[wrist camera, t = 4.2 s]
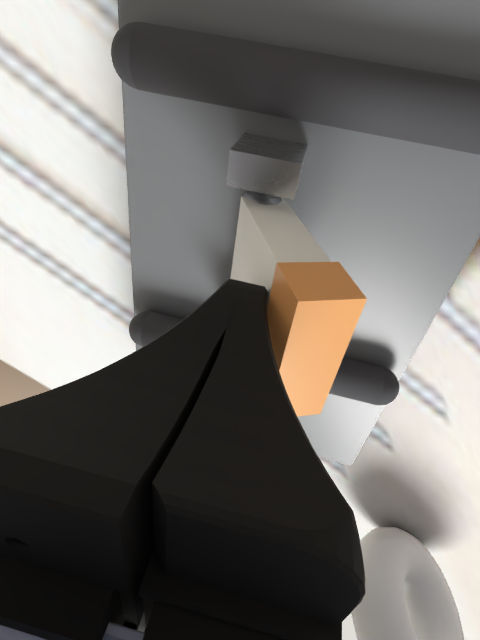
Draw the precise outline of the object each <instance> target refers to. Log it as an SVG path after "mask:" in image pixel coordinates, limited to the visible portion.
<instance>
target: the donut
mask: <svg viewBox="0 0 480 640" xmlns="http://www.w3.org/2000/svg"><path fill="white" fill-rule="evenodd" d="M360 544H361V549H362V555H363V562H364V569H365V591H366V593H365V595H364V597H363V599H362V601H361V603H360V604H359V605H358V606H357V607H356V608H355V609H354V610H353V611H352V612H351V614H352V618H353V623H354V627H355V632H356V636H357V639H358V640H464V636H463V631H462V626H461V622H460V618H459V613H458V610H457V607H456V604H455V601H454V598H453V595H452V592H451V590H450V588H449V586H448V584H447V581H446V579H445V577H444V575H443V573H442V571H441V569H440V567H439V566H438V564H437V563H436V561H435V560H434V558H433V557H432V555H431V553H430V552H429V551H428V550H427V549H426V548H425V547H424V546H423V544H422V543H421V542H420V541H419V540H418V539H416V538H415V537H414V536H413V535H411V534H409V533H407V532H405V531H404V530H402V529H399V528H396V527H380V528H375V529H373V530H371V531H370V532H369V533H368V534H367V535H366V536H365V537H364V538H362V540H361V541H360Z"/></svg>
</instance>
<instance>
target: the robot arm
mask: <svg viewBox="0 0 480 640" xmlns="http://www.w3.org/2000/svg"><path fill="white" fill-rule="evenodd" d="M267 292H268V291H267V289H266V288H265V286H260V285H256V284H251V283H247V282H243V281H238V280H234V279H229V280H227V281H225V282H224V284H223V285H222V286H221V287H220V288H219V289H218V290H217V291H216V292H214V293H213V294H212V295H211V296H210V297H209V298H208V299H207V300H206V301H205V302H204V303H202V304H201V305H200V306H199V307H198V308H196V309H195V310H194V311H193V312H192V313H190V314H189V315H188V316H187V317H186V318H184V319H183V320H182V321H180V322H179V323H178V324H176V325H175V326H173V327H172V328H171V329H169V330H168V331H167V332H165V333H164V334H162V335H161V336H159V337H158V338H156V339H155V340H153V341H152V342H150V343H149V344H147V345H145V346H144V347H142V348H140V349H139V350H137V351H135V352H134V353H132V354H130V355H128V356H126V357H124V358H123V359H121V360H119V361H117V362H115V363H113V364H111V365H109V366H107V367H105V368H103V369H101V370H99V371H97V372H95V373H92V374H90V375H88V376H85V377H83V378H81V379H78V380H76V381H73V382H71V383H68V384H66V385H63V386H60V387H58V388H55V389H53V390H50V391H47V392H44V393H41V394H39V395H36V396H32V397H29V398H26V399H23V400H20V401H17V402H14V403H10V404H7V405H4V406H1V407H0V640H342V621H343V620H344V619H345V618H346V617H347V616H348V615H349V614H350V613H351V612H352V611H353V610H354V609H355V608H356V607H357V606H358V605H359V604H360V603H361V601H362V599H363V597H364V595H365V593H366V591H365V569H364V562H363V555H362V549H361V544H360V538H359V534H358V529H357V525H356V521H355V517H354V513H353V511H352V509H351V507H350V506H349V505H348V503H347V502H346V500H345V499H344V497H343V496H342V494H341V493H340V491H339V490H338V488H337V487H336V485H335V483H334V482H333V480H332V479H331V477H330V476H329V474H328V472H327V471H326V469H325V467H324V466H323V464H322V462H321V461H320V459H319V457H318V455H317V454H316V452H315V450H314V449H313V447H312V445H311V443H310V441H309V439H308V437H307V435H306V433H305V431H304V429H303V427H302V425H301V423H300V421H299V419H298V417H297V415H296V413H295V411H294V408H293V406H292V404H291V401H290V399H289V397H288V394H287V392H286V389H285V386H284V384H283V381H282V378H281V375H280V372H279V369H278V366H277V362H276V359H275V355H274V351H273V347H272V343H271V338H270V332H269V327H268V320H267V310H266V298H267Z"/></svg>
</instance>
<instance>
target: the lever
mask: <svg viewBox="0 0 480 640" xmlns="http://www.w3.org/2000/svg"><path fill="white" fill-rule="evenodd" d="M230 279H234V280H238V281H243V282H247V283H251V284H256V285H260V286H265V288H266V289H267V291H268V292H267V298H266V310H267V320H268V327H269V332H270V338H271V343H272V347H273V351H274V355H275V359H276V362H277V366H278V369H279V372H280V375H281V378H282V381H283V384H284V386H285V389H286V392H287V394H288V397H289V399H290V401H291V404H292V406H293V408H294V411H295V413H296V415H297V417H298V416H306V415H315V414H321V411H322V409H323V406H324V404H325V401H326V399H327V396H328V394H329V391H330V389H331V387H332V384H333V382H334V379H335V377H336V374H337V372H338V369H339V367H340V364H341V362H342V359H343V357H344V354H345V352H346V350H347V347H348V345H349V342H350V340H351V337H352V335H353V332H354V330H355V327H356V325H357V322H358V320H359V318H360V315H361V313H362V310H363V308H364V305H365V303H366V300H367V298H366V297H365V295H364V294H363V293H362V291H361V290H360V289H359V287H358V286H357V285H356V284H355V282H354V281H353V280H352V278H351V277H350V276H349V274H348V273H347V272H346V270H345V269H344V268H343V267H342V265H341V264H340V263H339V262H331V261H330V259H329V258H328V257H327V255H326V254H325V253H324V251H323V250H322V249H321V247H320V246H319V245H318V243H317V242H316V240H315V239H314V238H313V236H312V235H311V234H310V232H309V231H308V230H307V228H306V227H305V226H304V224H303V223H302V222H301V220H300V219H299V218H298V216H297V215H296V213H295V212H294V211H293V209H292V208H291V207H290V205H289V204H288V203H287V201H286V200H285V199H284V198H281V197H278V196H273V195H268V194H263V193H259V192H254V191H249V190H248V191H246V192H245V193H244V196H241V201H240V209H239V217H238V224H237V232H236V239H235V247H234V254H233V262H232V270H231V277H230Z"/></svg>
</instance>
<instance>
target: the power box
mask: <svg viewBox="0 0 480 640" xmlns="http://www.w3.org/2000/svg"><path fill="white" fill-rule="evenodd" d="M118 15H119V30H118V31H117V33H116V35H115V37H114V39H113V42H112V48H111V56H112V62H113V65H114V68H115V70H116V72H117V74H118V75H119V76H120V78H121V79H122V91H123V110H124V129H125V148H126V167H127V186H128V205H129V224H130V243H131V262H132V281H133V300H134V318H133V319H132V321H131V323H130V326H129V333H130V336H131V338H132V340H133V341H134V342H135V343H136V351H137V350H139V349H140V348H142V347H144V346H145V345H147V344H149V343H150V342H152V341H153V340H155V339H156V338H158V337H159V336H161V335H162V334H164V333H165V332H167V331H168V330H169V329H171V328H172V327H173V326H175V325H176V324H178V323H179V322H180V321H182V320H183V319H184V318H186V317H187V316H188V315H189V314H190V313H192V312H193V311H194V310H195V309H196V308H198V307H199V306H200V305H201V304H202V303H204V302H205V301H206V300H207V299H208V298H209V297H210V296H211V295H212V294H213V293H214V292H216V291H217V290H218V289H219V288H220V287H221V286H222V285H223V284H224V282H225V281H227V280H229V279H230V277H231V270H232V262H233V254H234V247H235V239H236V232H237V224H238V217H239V209H240V201H241V196H244V193H245V192H246V191H248V190H249V191H254V192H259V193H263V194H268V195H273V196H278V197H281V198H284V199H285V200H286V201H287V203H288V204H289V205H290V207H291V208H292V209H293V211H294V212H295V213H296V215H297V216H298V218H299V219H300V220H301V222H302V223H303V224H304V226H305V227H306V228H307V230H308V231H309V232H310V234H311V235H312V236H313V238H314V239H315V240H316V242H317V243H318V245H319V246H320V247H321V249H322V250H323V251H324V253H325V254H326V255H327V257H328V258H329V259H330V261H331V262H339V263H340V264H341V265H342V267H343V268H344V269H345V270H346V272H347V273H348V274H349V276H350V277H351V278H352V280H353V281H354V282H355V284H356V285H357V286H358V287H359V289H360V290H361V291H362V293H363V294H364V295H365V297H366V298H367V300H366V303H365V305H364V308H363V310H362V313H361V315H360V318H359V320H358V322H357V325H356V327H355V330H354V332H353V335H352V337H351V340H350V342H349V345H348V347H347V350H346V352H345V354H344V357H343V359H342V362H341V364H340V367H339V369H338V372H337V374H336V377H335V379H334V382H333V384H332V387H331V389H330V391H329V394H328V396H327V399H326V401H325V404H324V406H323V409H322V411H321V414H315V415H306V416H298V419H299V421H300V423H301V425H302V427H303V429H304V431H305V433H306V435H307V437H308V439H309V441H310V443H311V445H312V447H313V449H314V450H315V452H316V454H317V455H318V457H319V458H322V459H326V460H330V461H333V462H337V463H341V464H345V465H348V466H352V464H353V462H354V461H355V459H356V457H357V455H358V453H359V452H360V450H361V448H362V446H363V445H364V443H365V441H366V439H367V437H368V436H369V434H370V432H371V430H372V428H373V427H374V425H375V423H376V421H377V419H378V418H379V416H380V414H381V412H382V411H383V409H384V407H385V405H386V404H388V403H390V402H392V401H393V400H394V399H395V398H396V396H397V395H398V392H399V380H400V378H401V376H402V375H403V373H404V371H405V369H406V368H407V366H408V364H409V362H410V360H411V359H412V357H413V355H414V353H415V351H416V350H417V348H418V346H419V344H420V342H421V341H422V339H423V337H424V335H425V334H426V332H427V330H428V328H429V326H430V325H431V323H432V321H433V319H434V317H435V316H436V314H437V312H438V310H439V308H440V307H441V305H442V303H443V301H444V300H445V298H446V296H447V294H448V292H449V291H450V289H451V287H452V285H453V283H454V282H455V280H456V278H457V276H458V274H459V273H460V271H461V269H462V267H463V265H464V264H465V262H466V260H467V258H468V257H469V255H470V253H471V251H472V249H473V248H474V246H475V244H476V242H477V240H478V239H479V237H480V0H118Z"/></svg>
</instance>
